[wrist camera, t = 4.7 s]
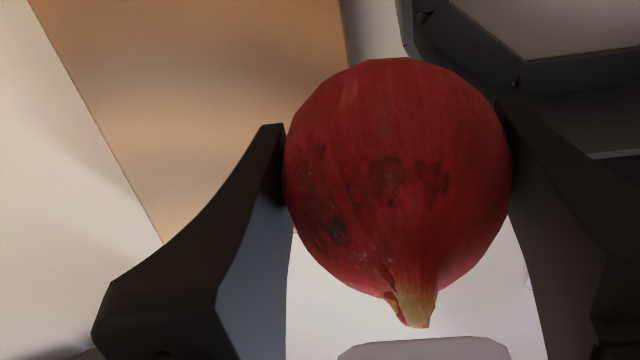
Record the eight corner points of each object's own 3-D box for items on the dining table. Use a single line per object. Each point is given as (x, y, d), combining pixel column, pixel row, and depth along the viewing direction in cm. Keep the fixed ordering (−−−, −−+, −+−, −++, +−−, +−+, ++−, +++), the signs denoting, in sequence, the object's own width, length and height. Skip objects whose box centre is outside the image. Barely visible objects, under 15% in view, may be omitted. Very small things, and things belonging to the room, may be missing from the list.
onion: (256, 110, 17) (215, 333, 11) (367, -38, 14) (389, 170, 8) (396, 187, 19) (421, 407, 14) (521, 74, 16) (625, 301, 10)
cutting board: (372, 206, 31) (373, 226, 29) (169, 226, 32) (164, 246, 31) (307, -230, 17) (305, -223, 16) (-34, -159, 19) (-58, -148, 18)
